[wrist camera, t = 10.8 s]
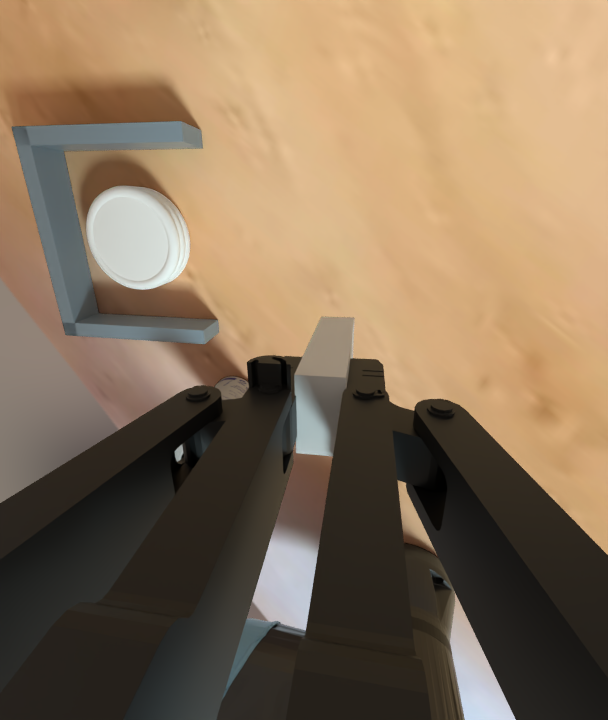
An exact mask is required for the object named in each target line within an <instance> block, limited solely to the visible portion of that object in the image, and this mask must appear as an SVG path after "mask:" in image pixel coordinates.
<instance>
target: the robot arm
mask: <svg viewBox="0 0 608 720" xmlns="http://www.w3.org/2000/svg"><path fill="white" fill-rule="evenodd" d="M353 342H354V318H350V317H321V318H320V320H319V323H318V325H317V327H316V329H315V331H314V333H313V335H312V338H311V340H310V342H309V344H308V346H307V348H306V350H305V353H304V355H303V357H292V356H285V357H282V356H275V355H270V356H260V357H256V358H253V359H251V360H249V361H248V362H247V370H248V383H249V388H248V389H247V391H246V392H245V394H244V395H243V397H242V398H237V399H227V400H222V395H221V391H220V390H219V389H218V388H215V387H211V386H205V385H201V386H194V387H193V388H189V389H186V390H184V391H182V392H180V393H178V394H176V395H175V396H173V397H172V398H170V399H168V400H167V401H165V402H164V403H162V404H160V405H159V406H157V407H155V408H154V409H152V410H151V411H149V412H147V413H146V414H144V415H142V416H141V417H139V418H138V419H136V420H134V421H133V422H131V423H130V424H128V425H126V426H125V427H123V428H121V429H120V430H118V431H117V432H115V433H114V434H112V435H110V436H109V437H107V438H105V439H104V440H102V441H100V442H99V443H97V444H96V445H94V446H92V447H91V448H89V449H88V450H86V451H85V452H83V453H81V454H80V455H78V456H76V457H74V458H73V459H71V460H70V461H68V462H67V463H65V464H63V465H62V466H60V467H59V468H57V469H55V470H53V471H52V472H50V473H49V474H47V475H45V476H44V477H42V478H40V479H39V480H37V481H36V482H34V483H32V484H31V485H29V486H28V487H26V488H24V489H23V490H21V491H19V492H18V493H16V494H15V495H13V496H11V497H10V498H8V499H6V500H5V501H3V502H2V503H0V720H465V719H464V714H463V709H462V704H461V698H460V693H459V688H458V683H457V677H456V672H455V667H454V662H453V657H452V652H451V645H450V636H451V629H452V621H453V613H454V606H455V593H456V595H457V597H458V599H459V601H460V603H461V606H462V608H463V610H464V612H465V614H466V616H467V618H468V620H469V622H470V624H471V627H472V629H473V631H474V633H475V635H476V637H477V639H478V641H479V643H480V645H481V647H482V650H483V652H484V654H485V656H486V658H487V660H488V662H489V664H490V666H491V668H492V671H493V673H494V675H495V677H496V679H497V681H498V683H499V685H500V687H501V689H502V691H503V694H504V696H505V698H506V700H507V702H508V704H509V706H510V708H511V710H512V712H513V714H514V717H515V719H516V720H608V555H607V554H606V553H605V552H604V551H603V550H602V549H601V548H600V547H599V546H598V545H597V544H596V543H595V542H594V541H593V540H592V539H591V538H590V537H589V536H588V535H587V534H586V533H585V532H584V531H583V530H582V528H581V527H580V526H579V525H578V524H577V523H576V522H575V521H574V520H573V519H572V518H571V517H570V516H569V515H568V514H567V513H566V512H565V511H564V510H563V509H562V508H561V507H560V506H559V505H558V504H557V503H556V502H555V501H554V500H553V499H552V498H551V497H550V496H549V495H548V494H547V493H546V492H545V491H544V490H543V489H542V488H541V487H540V486H539V485H538V483H537V482H536V481H535V480H534V479H533V478H532V477H531V476H530V475H529V474H528V473H527V472H526V471H525V470H524V469H523V468H522V467H521V466H520V465H519V464H518V463H517V462H516V461H515V460H514V459H513V458H512V457H511V456H510V455H509V454H508V453H507V452H506V451H505V450H504V449H503V448H502V447H501V446H500V445H499V444H498V443H497V442H496V441H495V439H494V438H493V437H492V436H491V435H490V434H489V433H488V432H487V431H486V430H485V429H484V428H483V427H482V426H481V425H480V424H479V423H478V422H477V421H476V420H475V419H474V418H473V417H472V416H471V415H470V414H469V413H468V412H467V411H466V410H465V409H464V408H462V407H461V406H460V405H458V404H455V403H453V402H451V401H448V400H444V399H428V400H423V401H421V402H418V403H417V404H416V406H415V411H413V410H408V409H405V408H401V407H399V406H396V405H394V404H393V403H391V402H390V401H389V395H388V393H387V392H386V391H385V380H384V369H383V365H382V364H381V363H380V362H379V361H378V360H376V359H355V358H353ZM295 441H296V453H301V454H312V455H323V456H333V459H332V466H331V472H330V479H329V485H328V492H327V498H326V505H325V511H324V518H323V524H322V531H321V537H320V544H319V550H318V557H317V563H316V570H315V576H314V583H313V589H312V596H311V602H310V609H309V615H308V622H307V627H306V631H305V630H301V629H298V628H294V627H290V626H287V625H283V624H281V623H280V622H278V621H274V622H268V621H263V620H258V619H252V618H249V619H247V615H248V612H249V609H250V605H251V602H252V599H253V595H254V592H255V589H256V585H257V582H258V579H259V575H260V572H261V569H262V565H263V562H264V559H265V555H266V552H267V549H268V545H269V542H270V539H271V535H272V532H273V529H274V525H275V522H276V519H277V515H278V512H279V509H280V505H281V502H282V499H283V495H284V492H285V489H286V485H287V482H288V479H289V475H290V472H291V469H292V465H293V447H294V444H295ZM181 445H182V447H183V454H184V457H183V458H182V459H181V460H180V461H176V457H175V451H176V449H177V448H178V447H179V446H181ZM397 480H399V481H402V482H405V483H406V488H407V493H408V495H409V497H410V499H411V501H412V503H413V505H414V507H415V509H416V511H417V513H418V516H419V518H420V520H421V522H422V524H423V526H424V528H425V530H426V532H427V534H428V536H429V539H430V541H431V543H432V545H433V547H434V549H435V551H436V553H437V555H438V557H439V559H438V558H437V557H436V556H435V555H433V554H432V553H430V552H428V551H426V550H424V549H422V548H419V547H417V546H413V545H410V544H405V543H404V540H403V531H402V521H401V511H400V501H399V491H398V481H397ZM454 591H455V592H454Z"/></svg>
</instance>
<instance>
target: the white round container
mask: <svg viewBox="0 0 608 720" xmlns="http://www.w3.org/2000/svg"><path fill="white" fill-rule="evenodd" d="M86 234H87V240H88V244H89V247H90V250H91V252H92V255H93V257H94V258H95V260H96V262H97V263H98V265H99V266H100V267H101V269H102V270H103V271H104V272H105V273H106V274H107V275H108V276H109V277H110V278H112V279H113V280H114V281H116V282H117V283H119V284H121V285H123V286H126V287H129V288H133V289H141V290H145V289H152V288H156V287H158V286H161V285H164V284H166V283H169V282H171V281H173V280H174V279H175V278H177V277H178V276H179V275H180V274H181V272H182V271H183V269H184V268H185V266H186V264H187V262H188V258H189V254H190V236H189V231H188V228H187V225H186V222H185V220H184V218H183V216H182V214H181V213H180V211H179V210H178V208H177V207H176V206H175V205H174V204H173V203H172V202H171V201H170V200H169V199H168V198H167V197H165V196H164V195H162V194H161V193H159V192H157V191H155V190H153V189H150V188H146V187H137V186H115V187H112V188H109V189H107V190H105V191H103V192H102V193H101V194H99V195H98V196H97V197H96V198H95V200H94V201H93V203H92V204H91V206H90V208H89V211H88V215H87V220H86Z"/></svg>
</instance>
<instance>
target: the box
mask: <svg viewBox="0 0 608 720" xmlns="http://www.w3.org/2000/svg"><path fill="white" fill-rule="evenodd" d="M12 131H13V135H14V138H15V142H16V146H17V150H18V154H19V158H20V162H21V165H22V169H23V173H24V177H25V181H26V185H27V188H28V192H29V196H30V200H31V204H32V208H33V212H34V215H35V219H36V223H37V227H38V231H39V235H40V238H41V242H42V246H43V250H44V254H45V258H46V261H47V265H48V269H49V273H50V277H51V281H52V285H53V288H54V292H55V296H56V300H57V304H58V308H59V311H60V315H61V319H62V323H63V327H64V331H65V335H71V336H86V337H102V338H117V339H133V340H148V341H163V342H179V343H194V344H206V343H207V342H208V341H209V340H211V339H212V338H213V337H214V336H215V335H217V334H218V333H219V325H218V320H213V319H194V318H176V317H157V316H138V315H120V314H101V313H99V311H98V307H97V302H96V297H95V293H94V288H93V284H92V279H91V275H90V270H89V265H88V261H87V256H86V252H85V247H84V242H83V238H82V233H81V229H80V224H79V219H78V215H77V210H76V206H75V201H74V196H73V192H72V187H71V183H70V178H69V174H68V169H67V164H66V160H65V155H64V151H101V150H151V149H200V148H203V146H202V134H201V130H200V129H197V128H195V127H193V126H191V125H189V124H186V123H184V122H182V121H171V122H140V123H109V124H78V125H47V126H16V127H12Z"/></svg>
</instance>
